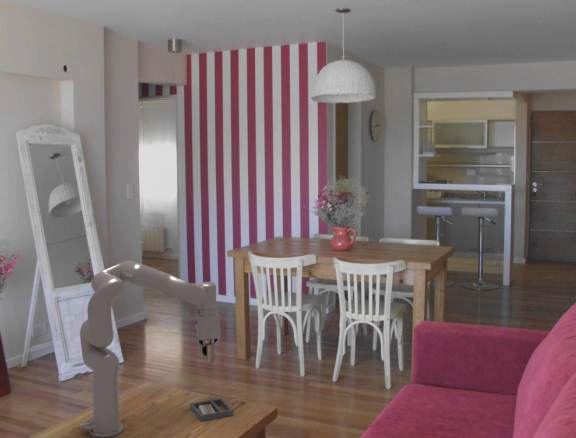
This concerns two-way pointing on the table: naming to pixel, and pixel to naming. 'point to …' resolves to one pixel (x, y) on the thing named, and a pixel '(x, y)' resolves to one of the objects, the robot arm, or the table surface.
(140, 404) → the table surface
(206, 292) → the robot arm
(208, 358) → the birch sheet
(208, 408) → the offcut upper
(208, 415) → the rack
